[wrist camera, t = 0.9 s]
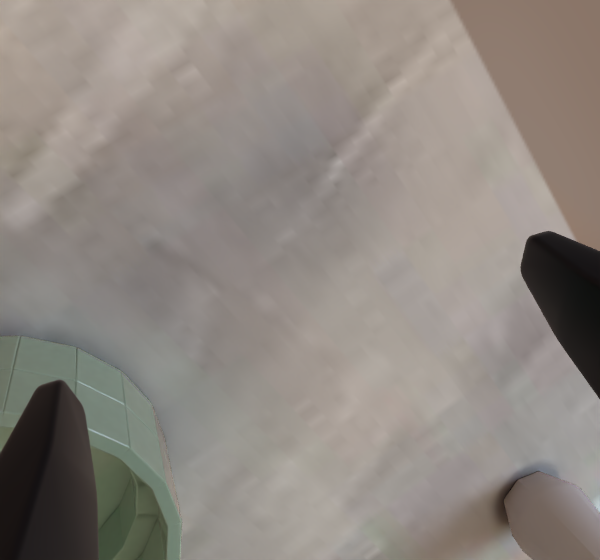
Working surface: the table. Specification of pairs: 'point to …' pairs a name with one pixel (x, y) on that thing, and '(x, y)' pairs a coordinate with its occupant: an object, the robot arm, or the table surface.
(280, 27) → the table surface
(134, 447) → the bowl
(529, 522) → the salt shaker
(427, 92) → the table surface
